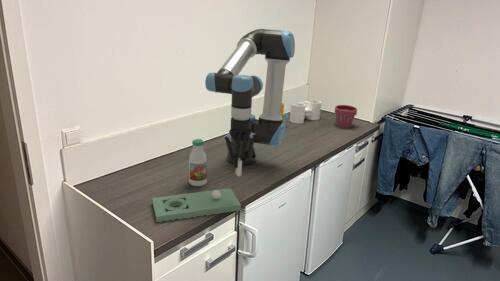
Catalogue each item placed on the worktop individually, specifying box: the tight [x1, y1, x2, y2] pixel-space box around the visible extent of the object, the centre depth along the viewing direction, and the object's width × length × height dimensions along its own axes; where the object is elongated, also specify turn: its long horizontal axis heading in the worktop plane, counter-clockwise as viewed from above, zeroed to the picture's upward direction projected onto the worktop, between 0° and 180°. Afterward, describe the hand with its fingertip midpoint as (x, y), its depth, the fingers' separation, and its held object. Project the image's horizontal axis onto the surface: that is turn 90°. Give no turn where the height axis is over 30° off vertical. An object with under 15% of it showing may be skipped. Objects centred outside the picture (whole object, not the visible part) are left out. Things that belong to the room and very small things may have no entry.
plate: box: [151, 187, 242, 223], centre depth 148 cm, size 32×14×2 cm, turn 110°
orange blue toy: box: [280, 103, 290, 123], centre depth 245 cm, size 12×10×15 cm
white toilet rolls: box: [289, 99, 322, 124], centre depth 261 cm, size 25×10×12 cm, turn 130°
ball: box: [212, 189, 221, 199], centre depth 150 cm, size 4×4×4 cm
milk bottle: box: [188, 138, 208, 187], centre depth 164 cm, size 8×8×20 cm
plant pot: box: [334, 104, 358, 129], centre depth 251 cm, size 14×14×13 cm
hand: (238, 174), depth 150 cm, fingers closed
